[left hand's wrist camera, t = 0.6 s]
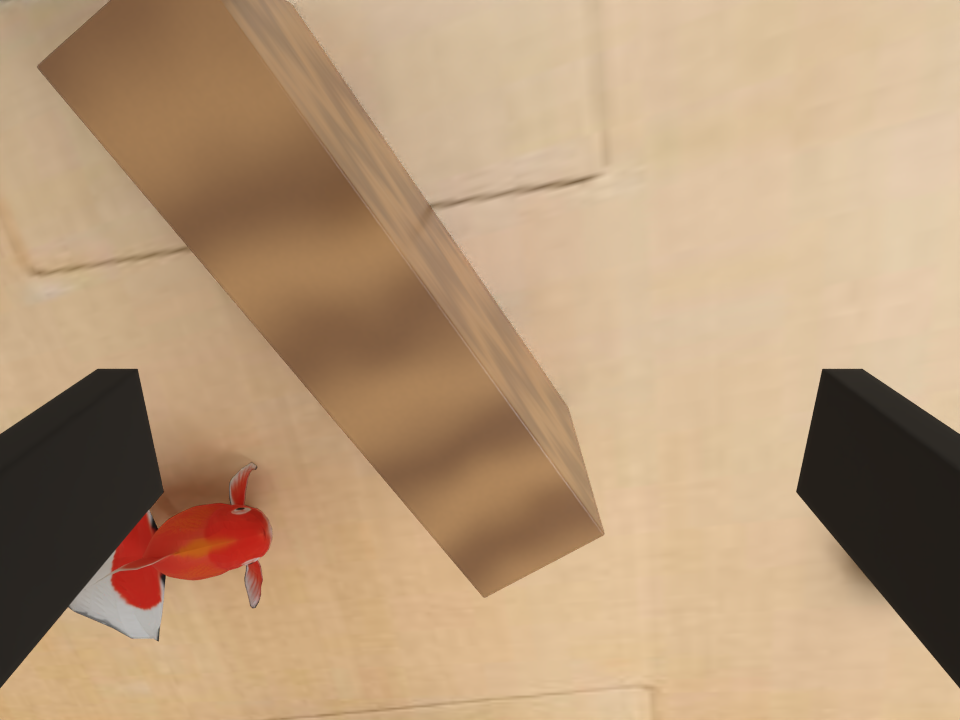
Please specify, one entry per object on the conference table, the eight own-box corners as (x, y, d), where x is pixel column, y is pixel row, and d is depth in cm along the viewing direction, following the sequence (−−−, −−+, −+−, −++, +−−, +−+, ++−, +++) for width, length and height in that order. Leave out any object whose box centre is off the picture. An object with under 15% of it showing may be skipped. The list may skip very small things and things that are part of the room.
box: (195, 81, 31) (34, 66, 20) (291, 2, 30) (176, -61, 19) (483, 458, 39) (483, 599, 28) (569, 408, 38) (605, 535, 27)
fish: (320, 644, 39) (179, 736, 30) (149, 587, 45) (-8, 648, 36) (327, 470, 38) (184, 510, 29) (152, 438, 45) (-7, 463, 36)
